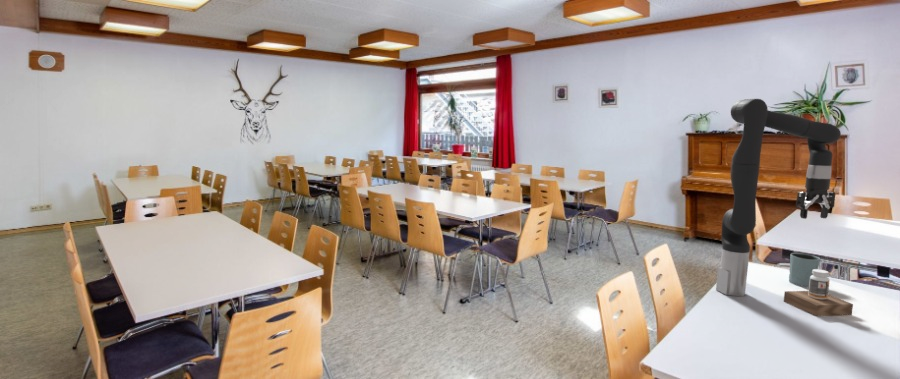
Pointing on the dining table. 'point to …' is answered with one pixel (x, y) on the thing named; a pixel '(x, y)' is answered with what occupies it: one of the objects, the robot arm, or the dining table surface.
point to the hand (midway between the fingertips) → (813, 218)
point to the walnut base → (818, 304)
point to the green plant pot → (802, 268)
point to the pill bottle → (819, 284)
